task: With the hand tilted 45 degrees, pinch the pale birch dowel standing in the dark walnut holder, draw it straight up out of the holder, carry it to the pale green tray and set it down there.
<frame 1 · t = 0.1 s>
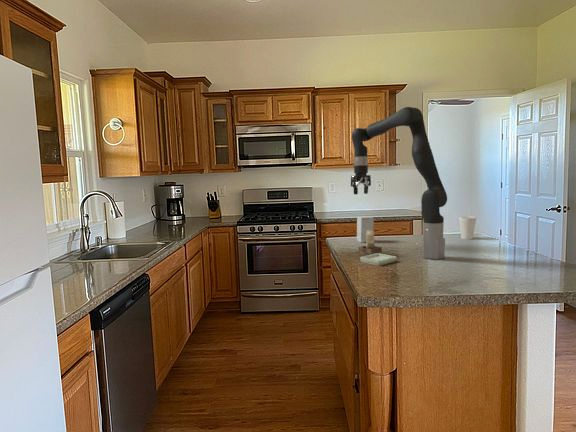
hand: (360, 194, 227), 29 cm above the counter, tool pointing down, fingers open, 8 cm apart
tray: (378, 261, 191), on the counter
dowel: (370, 242, 206), in the holder
skincare box: (365, 241, 241), on the counter
holder: (370, 253, 207), on the counter
foam cup: (466, 238, 245), on the counter
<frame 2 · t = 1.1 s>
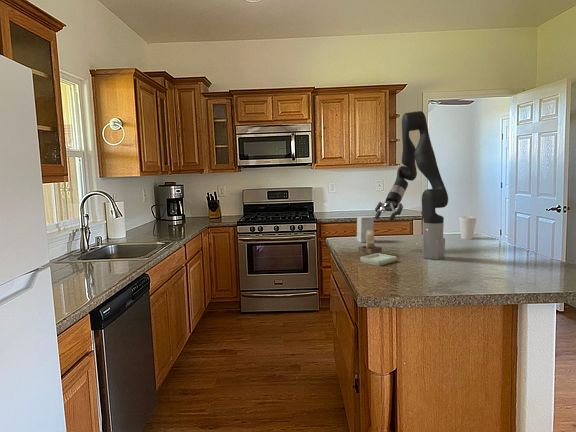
hand: (383, 219, 213), 17 cm above the counter, tool tilted 45°, fingers open, 8 cm apart
nothing on the counter moved.
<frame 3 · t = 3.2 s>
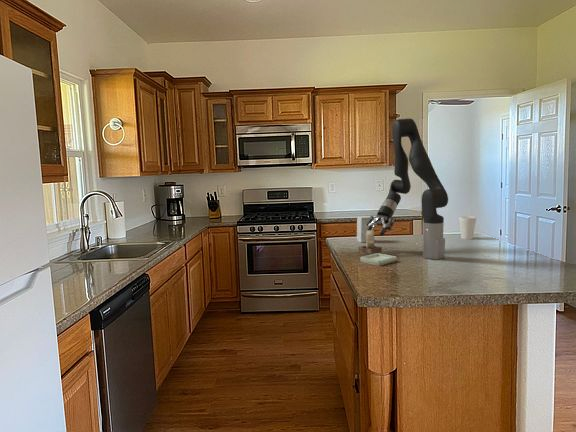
hand: (374, 233, 208), 10 cm above the counter, tool tilted 45°, fingers open, 8 cm apart
nothing on the counter moved.
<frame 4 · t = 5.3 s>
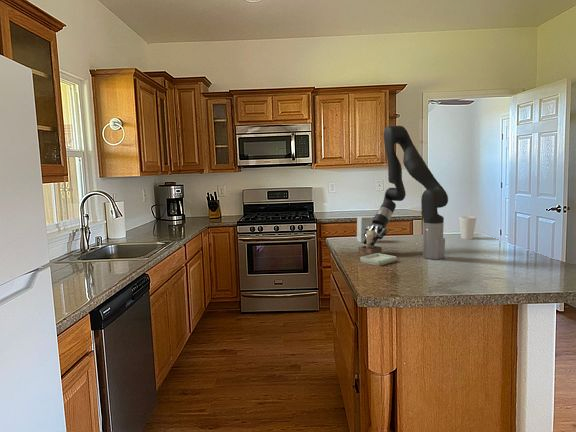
hand: (367, 243, 205), 6 cm above the counter, tool tilted 45°, fingers closed on dowel, 4 cm apart
dowel: (370, 242, 206), in the holder, touching gripper
everything else where it was.
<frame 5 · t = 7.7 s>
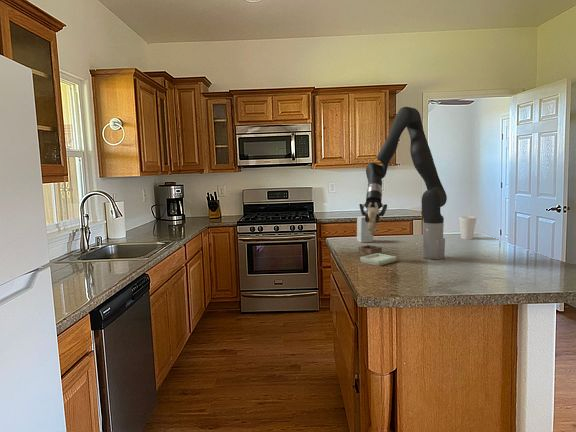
hand: (371, 221, 194), 18 cm above the counter, tool tilted 45°, fingers closed on dowel, 4 cm apart
dowel: (372, 220, 196), point 19 cm above the counter, touching gripper
everything else where it was.
when the fingers open (8 cm above the counter, at t = 10.4 s): dowel drops 1 cm, resting on tray.
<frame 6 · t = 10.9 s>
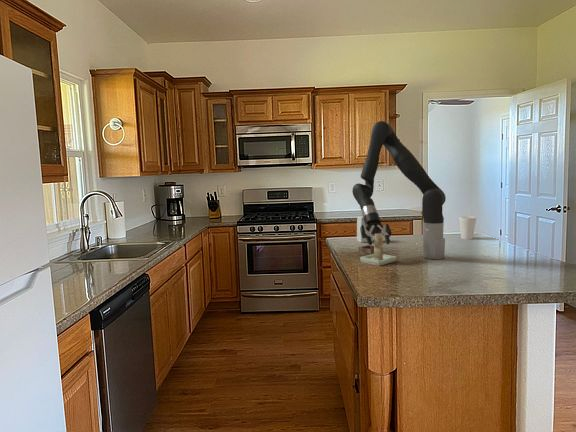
hand: (379, 243, 188), 9 cm above the counter, tool tilted 45°, fingers open, 8 cm apart
dowel: (378, 246, 190), in the tray, point 7 cm above the counter
everything else where it was.
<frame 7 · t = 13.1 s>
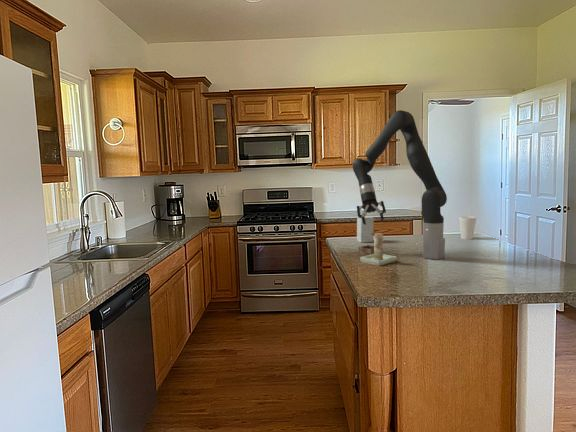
hand: (373, 222, 206), 16 cm above the counter, tool tilted 30°, fingers open, 8 cm apart
nothing on the counter moved.
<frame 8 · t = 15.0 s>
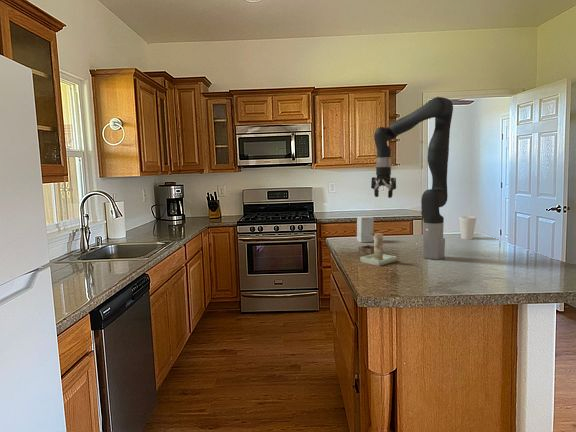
hand: (383, 197, 213), 28 cm above the counter, tool pointing down, fingers open, 8 cm apart
nothing on the counter moved.
at the end: dowel inside the target area on the tray (0.0 cm from its centre), point 7.0 cm above the tray's base; the gripper is holding nothing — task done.
